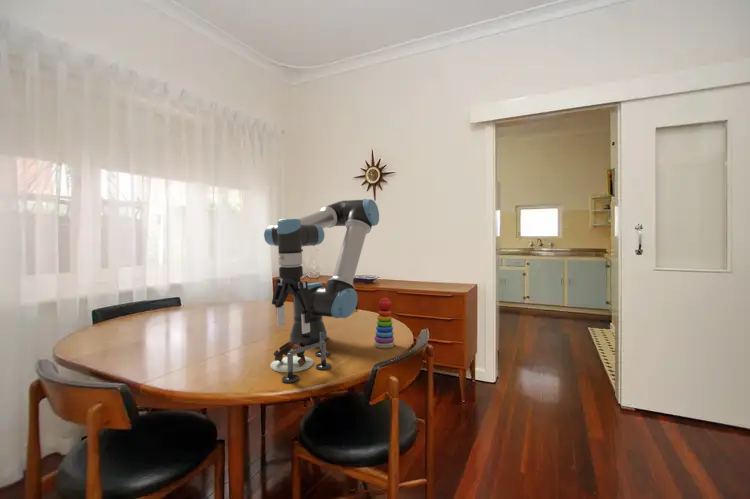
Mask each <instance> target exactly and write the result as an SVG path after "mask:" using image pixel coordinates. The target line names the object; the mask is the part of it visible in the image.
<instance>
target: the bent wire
mask: <svg viewBox="0 0 750 499" xmlns="http://www.w3.org/2000/svg"><path fill="white" fill-rule="evenodd" d="M300 347H301V346H300ZM318 347H319V350H317V351H316V352H315V353H314V354H315V355H314V356H315V357H318V358H319V357H320V359H321V360H320V362H321V363H317V364H316V365H315V369H316V370H317V371H326V370H327V371H328V370H331V368H332V363H329V362H327V357H328V356H329V355H330V351H328V350H327V342H326V340H325V339H324V332H323V331H321V332H320V342H318V343H314V344H307V345H306V346H305V347H301V348H298V349H295V350H293V349H291V351H289V353H287V356H286V357H287V364H288V373H287V375H284V376H282V377H281V382H282V383H284V384H292V383H293V384H294V383H297V382H298V381H299V380H300V376H299V375H298V374H294V372H293V356H294V355H297V353H300V352H303V351H305V352H306V351H309V350H312V349H313V350H314V349H315V348H318Z"/></svg>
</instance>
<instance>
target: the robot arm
mask: <svg viewBox="0 0 750 499" xmlns="http://www.w3.org/2000/svg"><path fill="white" fill-rule="evenodd" d="M379 221H380V211H379V208H378V205H377V203H376V201H375V200H374V199H368V198H367V199H366V198H364V199H351V200H349V199H348V200H341V201H337V202H335V203H332V204H328V205H326V206H323V207H322V208H321V209H319V210H318V211H316V212H313V213H310V214H308V215H304V216H302V217H299V218H282V219H281V218H280V219H278V221H277V224H274V225H269V226H267V227H266V228H265V229H264V231H263V232H264V233H263V237H264V241H265V242H266V244H268V245H270V246H275V247H278V248H277V249H278V265H279V268H278V276H279V278H277V279H276V280H275V289H274V291H273V295H272V301H271V305H274V307H275V308H276V311H275V312H276V313H275V314H276V326H277V327H282V326H285V325H286V315H285V314H286V312H285V311H286V310H285V304H284V303H285V302H286V300H287V298H288V296H289V295H292V301H293V302H292V303H293V306H292V307H293V323H292V326H291V330H290V332H289V342H290V341H293V343H294V344H296V343H297V342H299V341H302V342H304V343H305V345H311V344H315V343H318V342H320V332H321V331H323V332H324V339H325V341H326V340H327V339H328V334H327V330H326V327H325V323H324V319H323V317H327V318H335V319H347V318H349V317H350V316H351V315H352V314H354V312H355V310H356V308H357V305H358V293H357V291H356V290H355V289H356V287H355V286H354V279H355V275H356V272H357V268H358V264H359V262H360V258H361V253H362V249H363V246H364V243H365V239H366V236H367V235H368V234H369V233H370V232H371V231H372V227H374V226H377V225H378V224H379ZM333 227H346V232H345V234H344V238H343V240H342V243H341V246H340V247H341V248H340V251H339V254H338V257H337V259H336V263H335V268H334V271H333V273H332V276H331V278H329V279H327V280H326V283H325V286H323V283H322V282H311V283H308V282H307V281H301V278H302V277H303V275H304V274H303V266H302V264H303V249H302V248H303V247H311V246H313V247H315V246H318V245H320V244H322V243H323V242H324V239H325V231H324V229H326V228H328V229H329V228H333Z"/></svg>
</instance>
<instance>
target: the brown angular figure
mask: <svg viewBox="0 0 750 499" xmlns="http://www.w3.org/2000/svg"><path fill="white" fill-rule="evenodd" d="M305 346H307V344H305V343H304V342H302V341H299V342H297V343H293V341H290V340H289V341H288V342H286V343H284V344H283V345H281V346H280V347H279V348H278V349H279V350H278V349H276V350H275V351H274V352H273V355H274V361H280V362H281V361H282V359H283V358H284V357H283V356H285V357H287V353H289V351H291V350H295V349H298V348H301V347H305ZM305 353H306V351H303V352H300V353H297V354H296V356H297V357H300V359H299V360H298V363H299V366H300V367H301V366H303V365H304V364H305V362H306V360H305V357H306V356H305ZM304 356H305V357H304Z"/></svg>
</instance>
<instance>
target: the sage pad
mask: <svg viewBox="0 0 750 499" xmlns="http://www.w3.org/2000/svg"><path fill="white" fill-rule="evenodd" d="M304 357H305V360H306V362H305V364H304V365H303V366H301V367H300V366H299V363H298V360H299V359H300V357H297V355H293V373H297V372H298V373H299V372H302V371H306V370H308V369H310V368H312V367H313V366H314V364H315V362H314V359H313V358H311V357H308V356H305V355H304ZM269 365H270V369H271V370H272V369H273V370H272V371H275V372H277V373H284V372H285V374H286V373H287V374H288V364H287V356H285V357H283V359H282V361H281V362H280V361H275V360H274V361H272V362H270V364H269Z"/></svg>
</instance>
